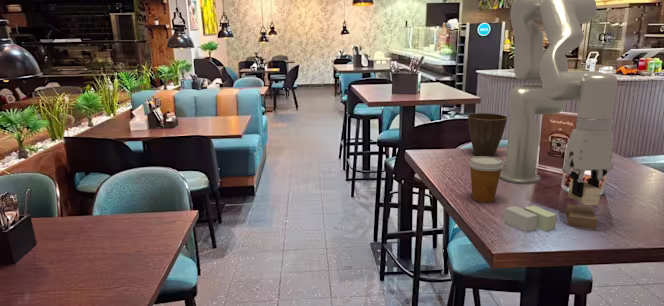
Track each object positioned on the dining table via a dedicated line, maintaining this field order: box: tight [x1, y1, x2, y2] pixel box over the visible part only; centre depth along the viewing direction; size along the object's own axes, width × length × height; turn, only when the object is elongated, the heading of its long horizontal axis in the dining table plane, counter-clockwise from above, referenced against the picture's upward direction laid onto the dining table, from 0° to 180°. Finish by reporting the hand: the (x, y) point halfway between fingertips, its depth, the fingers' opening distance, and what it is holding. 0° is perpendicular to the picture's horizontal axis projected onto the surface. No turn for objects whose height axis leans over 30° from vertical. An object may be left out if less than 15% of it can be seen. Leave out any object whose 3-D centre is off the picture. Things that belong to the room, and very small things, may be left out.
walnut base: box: [565, 204, 598, 231], centre depth 116 cm, size 9×6×3 cm, turn 158°
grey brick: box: [503, 205, 537, 233], centre depth 113 cm, size 7×4×4 cm, turn 25°
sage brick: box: [524, 205, 558, 232], centre depth 114 cm, size 7×4×4 cm, turn 25°
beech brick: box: [567, 180, 602, 206], centre depth 114 cm, size 7×4×4 cm, turn 8°
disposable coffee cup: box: [468, 156, 504, 203], centre depth 132 cm, size 10×10×12 cm
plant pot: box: [467, 112, 508, 157], centre depth 180 cm, size 15×15×16 cm
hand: (584, 194), depth 114 cm, fingers closed on beech brick, 3 cm apart
